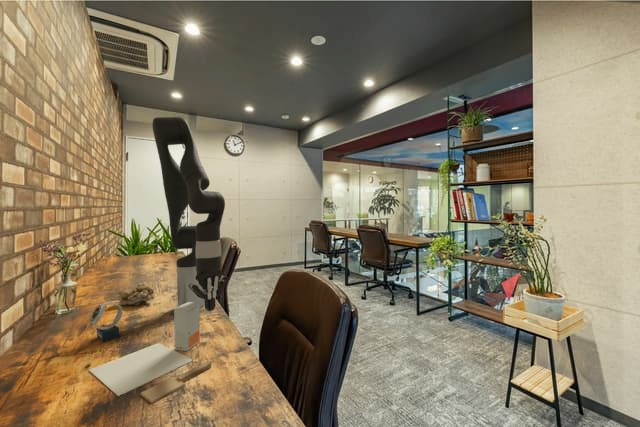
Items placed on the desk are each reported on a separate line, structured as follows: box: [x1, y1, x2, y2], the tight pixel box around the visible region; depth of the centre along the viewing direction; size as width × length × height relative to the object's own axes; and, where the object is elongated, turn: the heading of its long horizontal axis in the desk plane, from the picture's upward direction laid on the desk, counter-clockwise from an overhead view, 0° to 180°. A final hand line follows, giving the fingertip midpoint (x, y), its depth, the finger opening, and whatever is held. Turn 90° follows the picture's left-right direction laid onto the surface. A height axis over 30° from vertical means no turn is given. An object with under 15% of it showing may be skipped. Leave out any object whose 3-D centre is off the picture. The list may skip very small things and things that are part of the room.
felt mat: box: [88, 342, 193, 397], centre depth 74 cm, size 17×18×1 cm
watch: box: [90, 301, 124, 343], centre depth 90 cm, size 6×8×11 cm
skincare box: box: [173, 302, 201, 352], centre depth 84 cm, size 6×4×12 cm
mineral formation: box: [116, 282, 156, 306], centre depth 123 cm, size 8×13×15 cm
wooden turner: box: [140, 360, 212, 404], centre depth 67 cm, size 15×5×1 cm, turn 145°
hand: (210, 310), depth 90 cm, fingers closed
